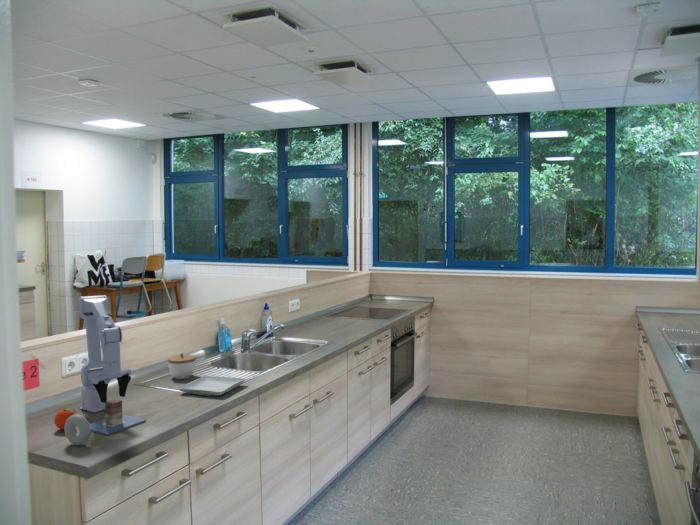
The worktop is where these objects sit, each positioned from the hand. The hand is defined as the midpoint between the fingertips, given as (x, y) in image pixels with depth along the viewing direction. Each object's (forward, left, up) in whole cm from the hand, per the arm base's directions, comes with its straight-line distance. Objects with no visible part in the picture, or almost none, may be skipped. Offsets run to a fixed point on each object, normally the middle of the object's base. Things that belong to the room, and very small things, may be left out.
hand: (113, 399), depth 204 cm
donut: (+6, -18, -10) cm, 21 cm away
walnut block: (0, 0, -5) cm, 5 cm away
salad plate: (-1, +50, -10) cm, 51 cm away
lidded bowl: (-29, +59, -10) cm, 66 cm away
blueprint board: (0, 0, -9) cm, 9 cm away
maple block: (0, 0, -9) cm, 9 cm away
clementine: (-12, -10, -10) cm, 18 cm away
